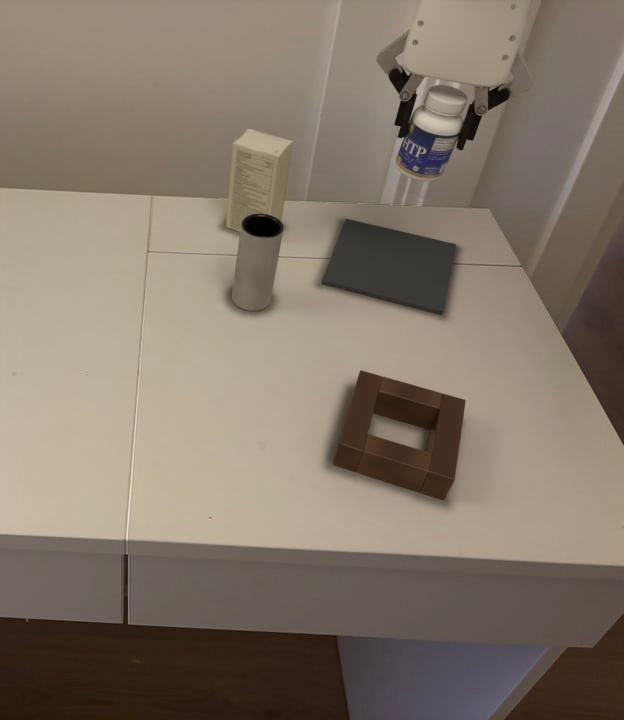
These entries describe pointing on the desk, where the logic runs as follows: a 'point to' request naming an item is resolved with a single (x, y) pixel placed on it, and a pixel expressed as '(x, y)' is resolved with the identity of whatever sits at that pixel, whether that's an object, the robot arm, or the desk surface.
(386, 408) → the holder
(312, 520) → the desk surface
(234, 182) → the cosmetic box
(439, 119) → the pill bottle
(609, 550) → the desk surface
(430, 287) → the mat
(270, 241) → the grey hollow tube
